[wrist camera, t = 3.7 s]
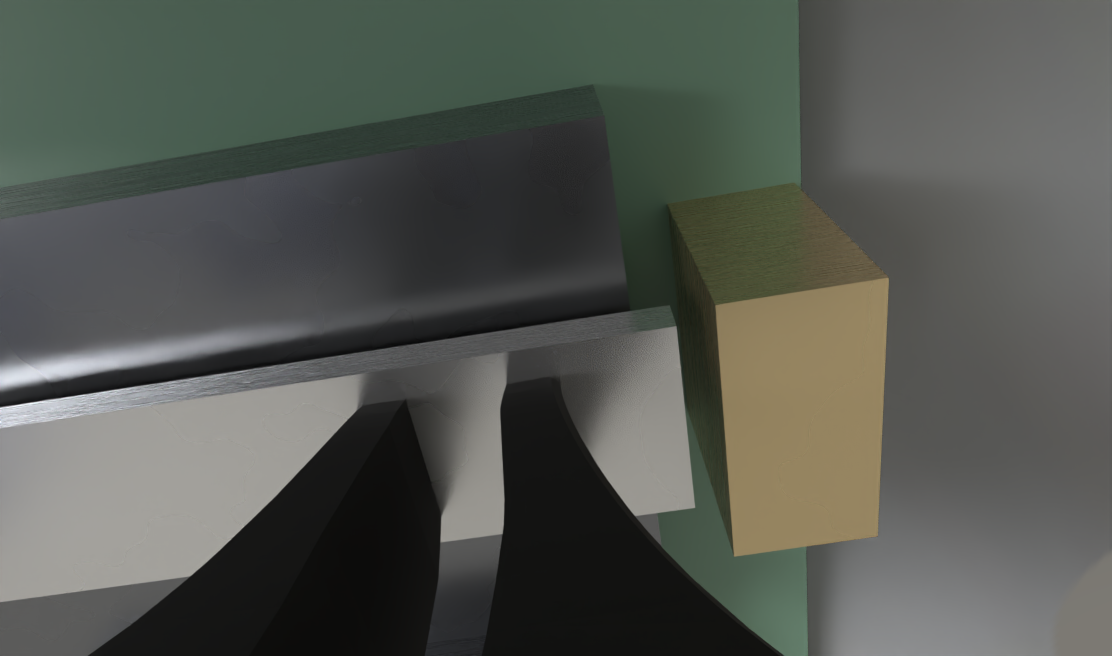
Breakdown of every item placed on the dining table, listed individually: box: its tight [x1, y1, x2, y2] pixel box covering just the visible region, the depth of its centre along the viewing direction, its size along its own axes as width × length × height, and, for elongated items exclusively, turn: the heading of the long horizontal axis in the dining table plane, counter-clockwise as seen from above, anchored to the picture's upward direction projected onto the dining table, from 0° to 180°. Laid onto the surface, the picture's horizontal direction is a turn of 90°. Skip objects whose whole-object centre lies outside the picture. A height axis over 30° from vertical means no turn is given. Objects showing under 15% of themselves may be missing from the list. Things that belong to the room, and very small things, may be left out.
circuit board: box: [0, 0, 808, 656], centre depth 17 cm, size 18×28×1 cm, turn 9°
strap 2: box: [0, 305, 695, 602], centre depth 11 cm, size 12×3×1 cm, turn 99°
